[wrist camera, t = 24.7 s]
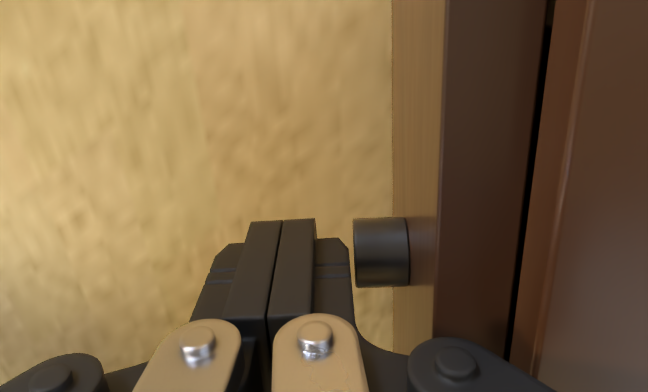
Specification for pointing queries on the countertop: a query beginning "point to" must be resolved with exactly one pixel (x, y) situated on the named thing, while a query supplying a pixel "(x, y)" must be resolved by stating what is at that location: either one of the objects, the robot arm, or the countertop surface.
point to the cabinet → (589, 207)
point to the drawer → (459, 168)
